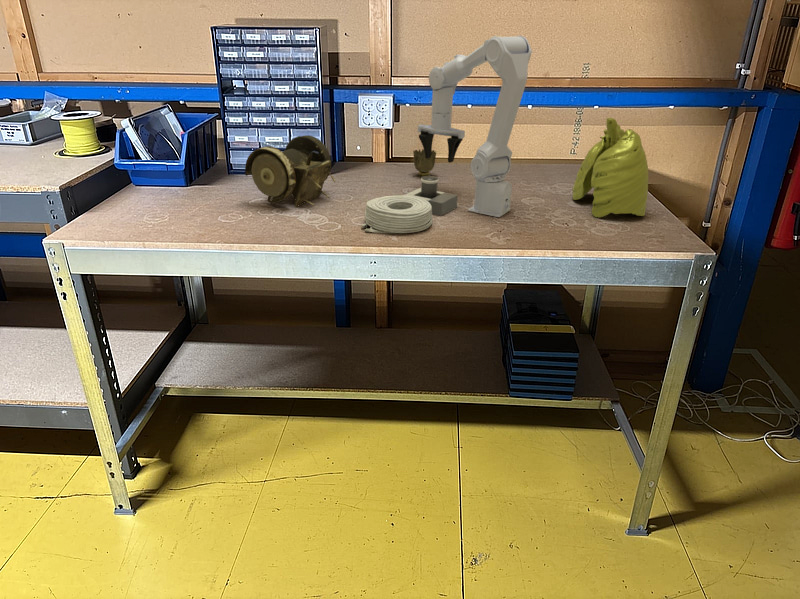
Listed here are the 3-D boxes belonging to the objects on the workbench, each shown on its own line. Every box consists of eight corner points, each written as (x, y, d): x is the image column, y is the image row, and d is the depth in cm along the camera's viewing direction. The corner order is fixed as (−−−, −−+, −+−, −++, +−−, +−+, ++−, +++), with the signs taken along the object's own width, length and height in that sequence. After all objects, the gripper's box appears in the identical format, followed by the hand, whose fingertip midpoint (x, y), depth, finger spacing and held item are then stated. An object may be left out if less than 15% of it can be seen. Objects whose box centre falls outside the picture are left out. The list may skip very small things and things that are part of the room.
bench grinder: (235, 190, 162) (252, 128, 149) (284, 168, 179) (303, 111, 166) (291, 231, 159) (313, 172, 146) (336, 206, 176) (359, 150, 163)
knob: (432, 206, 160) (433, 181, 157) (417, 203, 162) (418, 178, 159) (439, 201, 164) (441, 177, 161) (424, 198, 166) (425, 174, 162)
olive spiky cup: (435, 179, 188) (437, 154, 184) (412, 178, 188) (413, 153, 184) (434, 173, 195) (435, 148, 191) (412, 172, 194) (413, 148, 191)
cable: (358, 234, 144) (358, 210, 141) (371, 211, 159) (371, 189, 156) (428, 238, 142) (429, 215, 139) (434, 215, 157) (435, 193, 155)
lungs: (563, 194, 176) (576, 111, 165) (613, 193, 178) (628, 111, 167) (596, 222, 154) (613, 129, 143) (652, 221, 156) (673, 129, 145)
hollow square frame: (456, 207, 163) (457, 195, 161) (441, 215, 156) (441, 203, 155) (420, 199, 169) (420, 187, 167) (403, 207, 162) (403, 195, 160)
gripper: (471, 113, 166) (467, 160, 172) (426, 107, 172) (425, 153, 179) (459, 116, 160) (456, 165, 166) (414, 110, 167) (413, 158, 173)
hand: (439, 159), depth 172 cm, fingers open, 7 cm apart
